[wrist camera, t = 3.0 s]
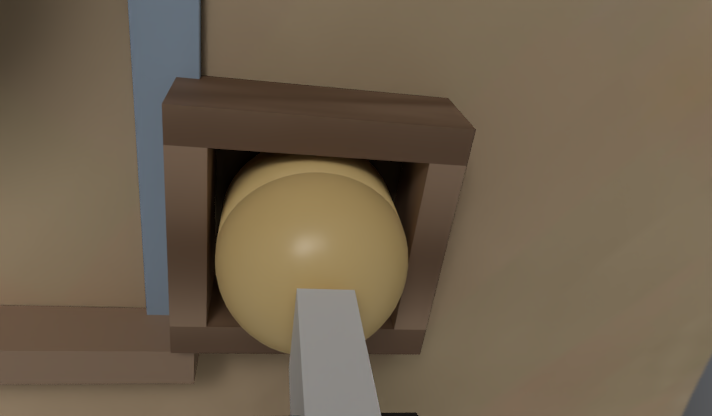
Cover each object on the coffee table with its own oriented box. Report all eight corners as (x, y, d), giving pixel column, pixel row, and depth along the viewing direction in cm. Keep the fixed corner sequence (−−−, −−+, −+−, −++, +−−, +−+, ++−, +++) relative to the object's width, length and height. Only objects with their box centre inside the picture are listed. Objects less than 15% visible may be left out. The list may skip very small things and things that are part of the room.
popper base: (178, 73, 17) (161, 103, 15) (448, 98, 19) (475, 129, 16) (182, 298, 22) (170, 353, 19) (403, 303, 23) (420, 354, 21)
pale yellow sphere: (224, 127, 18) (205, 219, 13) (401, 140, 19) (449, 230, 14) (221, 276, 21) (204, 401, 16) (376, 281, 22) (408, 399, 17)
